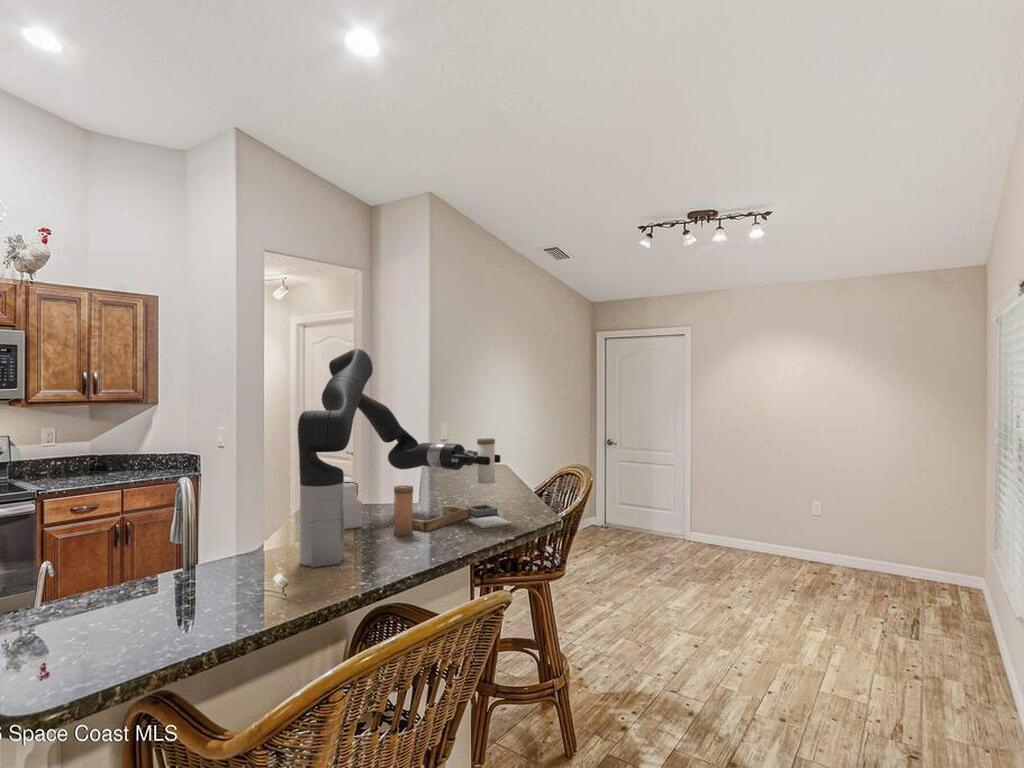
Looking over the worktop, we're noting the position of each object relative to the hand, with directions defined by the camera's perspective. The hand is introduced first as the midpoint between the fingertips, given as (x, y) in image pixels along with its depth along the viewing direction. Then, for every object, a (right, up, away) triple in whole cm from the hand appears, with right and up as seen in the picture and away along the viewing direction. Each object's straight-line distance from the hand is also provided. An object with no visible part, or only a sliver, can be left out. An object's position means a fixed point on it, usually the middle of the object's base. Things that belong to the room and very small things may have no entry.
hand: (494, 459), depth 162 cm
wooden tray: (-17, -18, +3) cm, 25 cm away
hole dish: (-4, -18, +12) cm, 22 cm away
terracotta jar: (-24, -18, -11) cm, 32 cm away
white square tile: (-2, -18, +1) cm, 18 cm away
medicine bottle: (-41, -18, -2) cm, 45 cm away
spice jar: (-2, -7, +1) cm, 7 cm away
